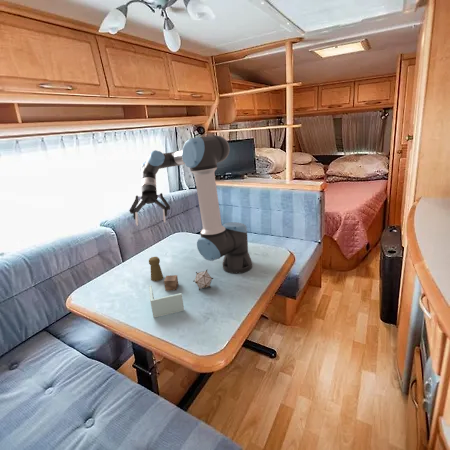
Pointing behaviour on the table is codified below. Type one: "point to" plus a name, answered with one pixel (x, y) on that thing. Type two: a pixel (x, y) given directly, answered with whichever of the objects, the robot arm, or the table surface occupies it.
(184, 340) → the table surface
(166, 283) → the walnut block
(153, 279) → the cork
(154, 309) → the l-shaped corner panel
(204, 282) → the game die
